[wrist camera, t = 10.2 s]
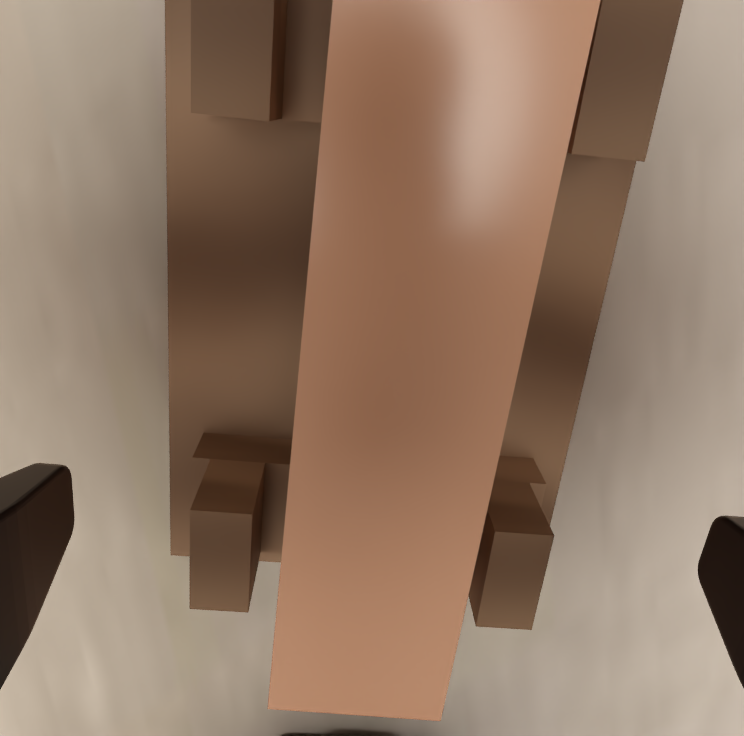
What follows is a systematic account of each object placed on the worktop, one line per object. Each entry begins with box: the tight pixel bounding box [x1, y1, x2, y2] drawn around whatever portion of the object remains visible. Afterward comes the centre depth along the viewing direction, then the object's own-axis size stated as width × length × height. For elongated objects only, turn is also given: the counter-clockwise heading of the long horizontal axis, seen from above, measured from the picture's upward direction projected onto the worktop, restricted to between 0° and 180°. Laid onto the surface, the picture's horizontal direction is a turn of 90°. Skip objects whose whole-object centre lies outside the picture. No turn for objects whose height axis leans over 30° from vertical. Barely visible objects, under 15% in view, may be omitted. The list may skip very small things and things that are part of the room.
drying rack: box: [165, 0, 683, 630], centre depth 17 cm, size 18×12×5 cm, turn 174°
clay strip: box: [268, 0, 600, 721], centre depth 15 cm, size 16×4×5 cm, turn 173°
